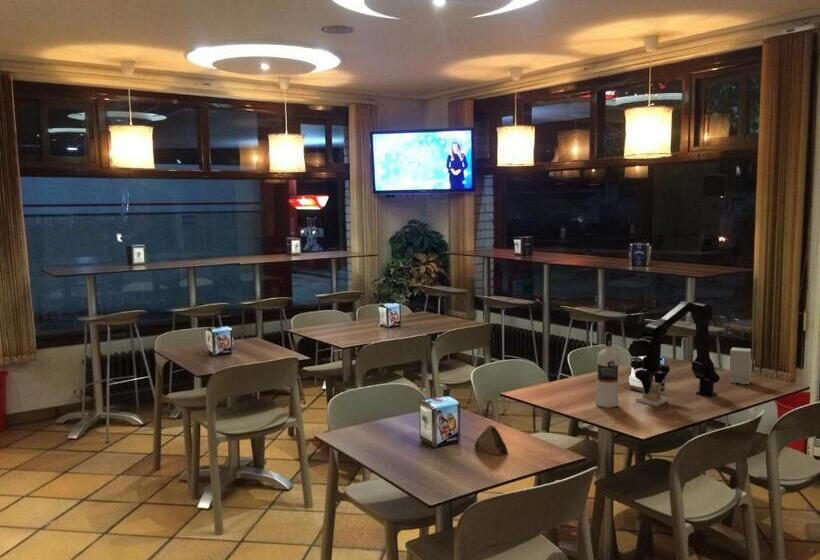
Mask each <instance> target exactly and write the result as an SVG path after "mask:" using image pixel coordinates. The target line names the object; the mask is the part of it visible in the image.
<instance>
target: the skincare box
mask: <svg viewBox="0 0 820 560" xmlns="http://www.w3.org/2000/svg"><path fill="white" fill-rule="evenodd" d="M729 351H730V353H729V383H730V382H732V383H731V384H736V383H740V384H739V385H745V384H748V385H747V386H749V385H750V383H751V370H752V369H751V368H752V348H746V347H745V348H744V347H735V346H734V347H731V349H730V350H729Z"/></svg>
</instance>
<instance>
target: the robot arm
mask: <svg viewBox="0 0 820 560" xmlns="http://www.w3.org/2000/svg"><path fill="white" fill-rule="evenodd" d="M688 313H690V315H691V319H692V320H693V322H694V324H695V340H696V341H695V343H696V357H695V359H694V360H692V361H691V371H692V372H693V374H694V378H695V379H698V380H699V384H698V385H699V387H698V391H697V392H695V394H696V395H700V396H705V397H706V396H707V397H710V398H711V397H713V396H715V395H717V392H716V391H715V392H714V390H715V384H716V383H719V381H720V378H721V377H720V376H719V374H718V373H717V372H716V371H715V365H714V363H713V360H712V359H711V356H710V332H709V328H710V327H709V324H710V323H711V321H712V319H713V306H711V305H710V304H708V303H702V302H694V303H693V302H690V301H684V300H682V301H680V302H679V304H678V305H677V306H675V307H674V308H672V309H671V310H670V311H669V312H667V313H666V314H665V315H664V316H663V317H661V318H659V319H657V320H653V321H651V322H649V323H648V324H645V327H644V329H643V331H642V332H641V334H640V336H639V337H638V339H633V340H632V341H631V342H632V343H630V344H629V347H628V353H629V355H630V356H631V357H632V358H638V357H643V358H642V359H639V360H638V359H632V360H631V361H630V364H631V365H630V367H631V368H632V369H633V370H634V371H635V370H636V371H635V372H634V375H635V376H634V378H636V379H637V380H639V381H640V382H641V384H642V387H643V388H644V392H645V394H648V393H649V390H650V388H651V385H652V382H656V383H661V385H662V384H663V382H664V381H665V379H666V377H667V376H668V375H669V373H670V370H671V369H670V366H669V365H668V364H664V363H663V364H662V363H661V361H663V358H664V357H662V345H666V344H667V342H666V341H665V340H664V339H663V338H664V337H665V336H666V335H667V334H668V331H669V328H671V327H672V326H674V324H676V323H677V322H678V321H680V320H682V318H683V317H685V316H686V315H688ZM639 369H640V370H639ZM643 388H642V389H643Z"/></svg>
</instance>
